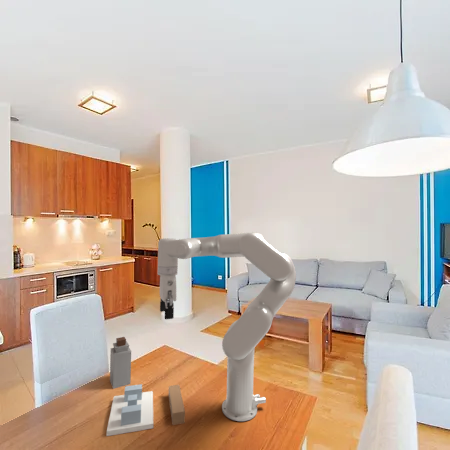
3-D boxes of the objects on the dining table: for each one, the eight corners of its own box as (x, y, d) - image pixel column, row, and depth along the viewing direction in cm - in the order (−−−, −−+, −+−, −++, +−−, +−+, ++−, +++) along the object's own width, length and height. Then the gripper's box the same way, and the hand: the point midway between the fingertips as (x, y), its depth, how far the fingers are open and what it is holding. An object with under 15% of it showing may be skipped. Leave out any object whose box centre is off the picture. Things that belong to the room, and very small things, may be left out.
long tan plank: (179, 394, 106) (179, 384, 106) (184, 423, 91) (184, 411, 91) (168, 396, 105) (168, 385, 105) (172, 425, 90) (172, 413, 90)
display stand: (152, 394, 105) (153, 380, 105) (153, 428, 88) (153, 411, 88) (113, 400, 102) (114, 385, 102) (106, 436, 84) (107, 418, 84)
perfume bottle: (126, 376, 118) (127, 334, 118) (130, 383, 112) (131, 340, 113) (109, 380, 114) (110, 337, 115) (113, 388, 109) (114, 343, 109)
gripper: (182, 273, 99) (181, 321, 99) (172, 266, 115) (171, 307, 115) (161, 274, 96) (160, 323, 96) (154, 267, 112) (153, 309, 112)
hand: (166, 314), depth 105 cm, fingers open, 9 cm apart
